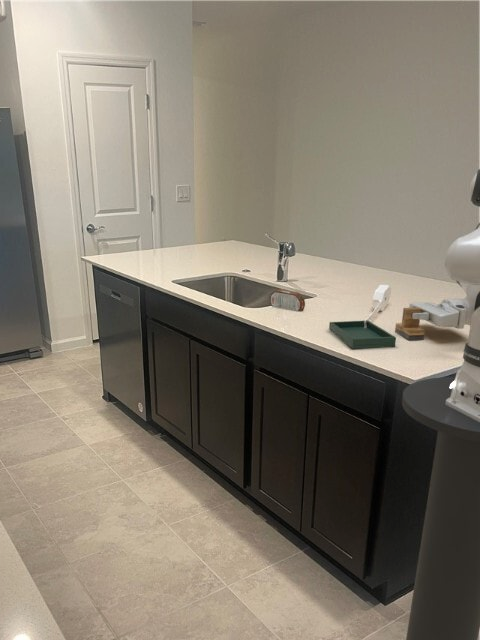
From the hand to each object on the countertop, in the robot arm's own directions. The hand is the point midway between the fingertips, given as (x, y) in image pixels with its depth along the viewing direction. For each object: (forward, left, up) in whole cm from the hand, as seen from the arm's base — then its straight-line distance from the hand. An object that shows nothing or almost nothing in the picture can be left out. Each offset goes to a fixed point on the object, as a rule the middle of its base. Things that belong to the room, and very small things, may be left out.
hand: (408, 314), depth 176 cm
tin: (+41, +29, -8) cm, 51 cm away
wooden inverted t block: (0, -1, -7) cm, 7 cm away
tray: (+1, +15, -8) cm, 17 cm away
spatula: (+25, +1, -7) cm, 26 cm away
